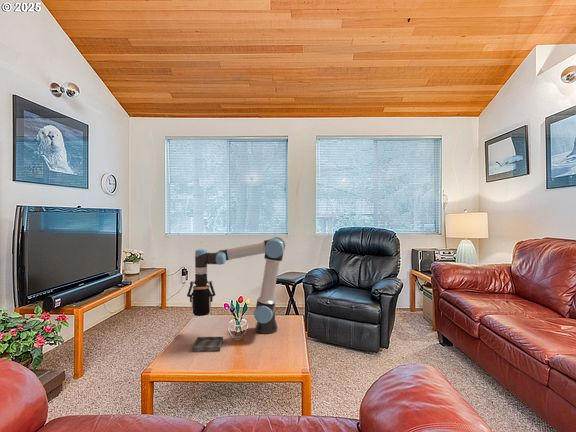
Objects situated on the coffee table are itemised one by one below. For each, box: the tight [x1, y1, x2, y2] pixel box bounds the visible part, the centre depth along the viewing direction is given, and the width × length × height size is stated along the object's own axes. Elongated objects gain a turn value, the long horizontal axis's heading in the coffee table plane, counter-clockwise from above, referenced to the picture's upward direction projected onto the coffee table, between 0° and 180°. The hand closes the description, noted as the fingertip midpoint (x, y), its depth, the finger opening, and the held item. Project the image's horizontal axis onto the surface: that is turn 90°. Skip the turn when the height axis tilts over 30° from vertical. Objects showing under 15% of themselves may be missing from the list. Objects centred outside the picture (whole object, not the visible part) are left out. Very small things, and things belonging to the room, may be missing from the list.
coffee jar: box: [192, 284, 211, 317], centre depth 219 cm, size 11×11×18 cm
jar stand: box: [191, 336, 224, 353], centre depth 202 cm, size 16×16×3 cm
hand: (201, 307), depth 219 cm, fingers closed on coffee jar, 10 cm apart
